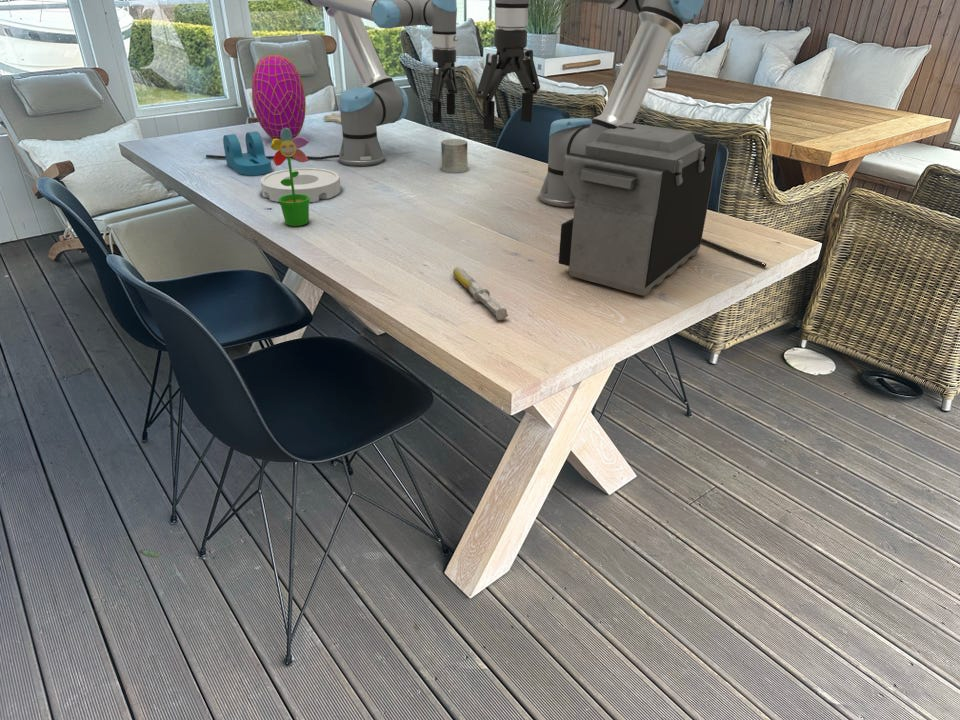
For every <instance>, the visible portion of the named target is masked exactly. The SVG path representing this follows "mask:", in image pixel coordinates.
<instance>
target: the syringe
mask: <svg viewBox="0 0 960 720" xmlns="http://www.w3.org/2000/svg"><path fill="white" fill-rule="evenodd" d="M452 274H453V277H454V279H455V280H457V281H458V282H459V283H460V285H462V287H464V289H466V290H467V291H468V293H470V295H471V296H472V298H473V300H474V302H477V303H478V302H480V303H482V304H483V305H484V306H485V307H486V308H487V309H488V310H489V311H490V312H491V313H492V314H493V315H494V316H495V317H496V320H497V321H503V320H504V319H506V318H507V317H509V314H508V310H507V308H506V307H502V306H501V305H500V303H498V302H497V301H496V300H494V299H493V298H492V297H491V296H490V295H491V293H490V290H488V289H486V288H483V287H482V286H481V285H480V284H479V283H478V282H477V281H476V280H474V278H473V277H471V275H469V274H468V273H467V272H466V270H465V269H464V268H463V267H462V266H456V267H454V268H453V271H452Z"/></svg>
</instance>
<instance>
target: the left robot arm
mask: <svg viewBox="0 0 960 720" xmlns="http://www.w3.org/2000/svg"><path fill="white" fill-rule="evenodd" d="M301 2H303V3H304V4H306V5H308V6H312V7H316V8H324V10H325V12H326V15H327V16H329V17H330V18H333V19H334V21H335V24H336V26H337V28H338V30H339V33H340V36H341V37H342V40H343V42H344V45H345V46H346V48H347V51H348V53H349V56H350V58H351V60H352V62H353V64H354V67H355V69H356V71H357V74H358V76H359V78H360V80H361V82H362V86H359V87H351V88H348V89H346V90H344V91H342V92H341V93H340V95H339V106H338V107H339V112H340V115H341V123H340V124H341V132H342V142H341V145H340V150H339V154H332V155H325V156H309V155H306V156H307V158H308V160H313V161H314V160H315V161H319V160H327V159H336V158H339V159H338V160H339V163H340V164H342V165H345V166H351V167H368V166H375V165H379V164H382V163H383V162H384V160H385V157H384V151H383V150H382V147H381V145H380V142H379V138H378V131H377V127H380V126H383V125H388V124H394V123H396V122H399V121H401V120H403V118H405V116H406V115H407V113H408V108H409V97H408V95H407V92H406V91H405V90H404V88H403V87H401V86H399V85H396V84H395V82H394V79H393V77H392V76H389V75H387V74H386V71H385V70H384V67H383V65H382V63H381V60H380V59H379V55H378V53H377V51H376V49H375V46H374V44H373V42H372V40H371V38H370V35H369V33H368V31H367V29H366V25H365V23H364V22H363V19H364V20H367V21H371V22H373V23H374V24H375V25H376V27H378V28H380V29H388V30H390V29H394V28H396V29H397V28H403V27H414V26H426V27H431V33H432V34H431V44H432V45H431V47H432V48H433V49H432V52H431V53H432V54H431V55H432V56H431V57H432V62H433V63H437V67H436V66H435V67H433V69H432V81H431V87H430V88H431V89H430V94H429V102H432V123H436V124H437V123H438V124H441V123H442V101H441V100H442V95H443V91H444V86H445V87H446V91H447V93H446V115H453V116H454V115H456V95H458V94H459V90H458V81H457V75H456V64H455V63H456V62H457V50H456V49H455V48H457V41H459V39H458V37H457V18H458V16H457V15H458V7H457V0H301ZM265 156H266V158H268V159H269V160H274V159H273V158H274V155H265ZM205 158H209V159H222V160H226V156H225V155H216V154H206V155H205ZM286 159H288V158H287V157H286ZM290 159H293V158H292V157H290Z"/></svg>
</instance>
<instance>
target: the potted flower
mask: <svg viewBox="0 0 960 720" xmlns="http://www.w3.org/2000/svg"><path fill="white" fill-rule="evenodd" d="M280 136H281V140H282V141H281V140H279V139H273V138H272V141H271V145H270V148H271V149H272V150H274V151H275V153H274V155H273V156H274V158H273V159H272V160H273V163H274V165H275V167H277V166H282V164H283V163H285V161H286V159H287V164H288V165H287V166H288V169H289V173H290V179H283V180H282V181H281V184H282V185H284V186H291V188H292V194H290V195H285V196H282V197H280V198H279V202H278V203H279V205H280V207H281V210H282V215H283V219H284V223H285V225H287V226H290V227H291V226H292V227H301V226H304V225H306V224H309V222H310V206H309V205H310V202H309V196H307V195H304V194H295V191H294V183H293V178H294V177H296V176H297V175H298V174H299V172H297V171H294V172H292V169H293V168H292V162H291V161H292V160H291V159H293V160H294V161H296V162H297V163H307V162H309V159H308V158H307V156H308V155H306V153H305V152H303V150H301V148H303V147H305V146H306V145H308V144H309V143H310V140H308V139H307V138H306V137H303V136H299V135H298V136H296V137H295V138H293V139H292V134H291V131H290V130H289V129H288V128H284V129H283V130H282V131H281V134H280ZM286 157H287V158H286ZM290 157H292V158H290Z"/></svg>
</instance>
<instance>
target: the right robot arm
mask: <svg viewBox="0 0 960 720" xmlns="http://www.w3.org/2000/svg"><path fill="white" fill-rule="evenodd" d="M571 1H574V2H585V3H595V4H604V5H606V7H607V8H609V9H613V10H614V9H615V10H621V11H624V12H628V13H632V14H635V15H638V18H639V21H640V25H639V28H638V30H637V32H636V34H635V36H634V39H633V40H632V43H631V46H630V48H629V50H628V52H627V55H626V57H625V60H624V61H623V64H622V67H621V68H620V71H619V73H618V75H617V77H616V80H615V82H614V85H613V87H612V89H611V92H610V93H609V96H608V99H607V101H606V103H605V105H604V108H603V110H602V112H601V114H599V115H597V116H595V117H593V119H592V118H589V117H588V118H587V117H575V118H574V117H573V118H562V119H556V120H554V121H553V122H551V124H550V129H549V134H548V136H549V138H548V139H549V141H548V156H547V158H548V159H547V173H546V176H545V178H544V181H543V184H542V187H541V189H540V192H539V200H540V202H542V203H543V204H546V205H549V206H553V207H558V208H559V207H560V208H574V206H575V201H576V198H575V196H574V195H573V193H572V191H571V189H570V188H569V186H568V184H567V183H566V181H565V179H564V178H563V173H564V159H565V155H567V154H569V153H575V154H580V155H585V148H586V145H587V144H590V143H592V142H594V141H596V140H597V138H598V137H599V135H600V134H601V132H603V131H606V130H608V129H616V128H618V126H619V125H622V124H624V123H634V121H635V119H636V117H637V114H638V113H639V110H640V109H641V106H642V103H643V102H644V99H645V97H646V95H647V93H648V90H649V88H650V86H651V83H652V81H653V79H654V77H655V75H656V72H657V70H658V68H659V66H660V64H661V62H662V60H663V57H664V54H665V52H666V50H667V48H668V45H669V43H670V42H671V39H672V37H673V36H676V35H678V34H680V33H681V32H682V28H683V27H684V24H685V22H688V21H691V20H693V19H694V18H696V17H697V16H698V15H699V14H700V12H701V10H702V8H703V5H704V1H705V0H571ZM529 3H530V0H494V27H496V29H494V31H493V46H494V47H495V48H496V52H495V53H490V52H488V53H486V55H485V64H484V66H483V67H484V68H483V70H482V75H481V76H480V79H479V83H478V87H477V90H476V91H475V92H476V93H475V98H476V99H479V100H481V101H482V115H483V130H487V131H492V132H493V131H495V106H496V105H495V100H493V99H494V97H495V95H496V93H497V91H498V89H499V88H500V85H501V83H502V81H503V79H504V77H506V76H507V75H508V74H509V75H510V74H512V73H514V74H515V76H516V77H517V79H518V81H519V83H520V86H521V87H522V89H523V91H524V92H522V93H521V110H520V111H521V112H520V113H521V115H520V121H521V122H526V123H532V118H533V117H532V115H533V106H534V95H537V94H538V92H539V90H540V88H541V84H540V81H539V77H538V74H537V68H536V65H535V61H534V50H532V49H527V46H528V31H527V29H526V28H528V26H529ZM701 244H704V245H707V246H709V247H712V248H714V249H717V250H719V251H722V252H724V253H727V254H728V255H731V256H734V257H735V258H738V259H740V260H744V261H746V262H749V263H751V264H754V265H756V266H759V267H762V268H766V267H767V263H765V262H763V261H760V260H758V259H755V258H752V257H749V256H747V255H744V254H741V253H739V252H736V251H734V250H732V249H729V248H728V247H724V246H722V245H719V244H718V243H715V242H712V241H710V240H707V239H705V238H702V240H701ZM762 263H764V264H765V265H764V264H762Z"/></svg>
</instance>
